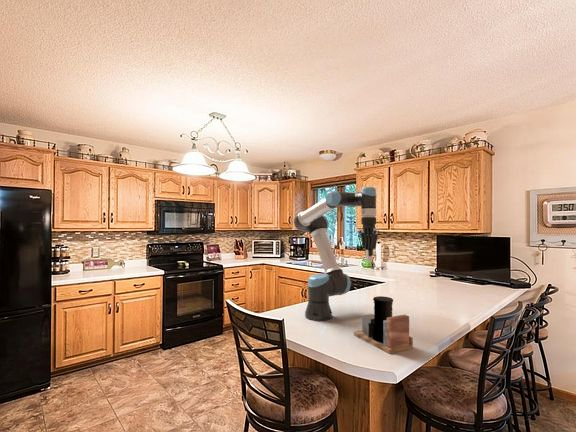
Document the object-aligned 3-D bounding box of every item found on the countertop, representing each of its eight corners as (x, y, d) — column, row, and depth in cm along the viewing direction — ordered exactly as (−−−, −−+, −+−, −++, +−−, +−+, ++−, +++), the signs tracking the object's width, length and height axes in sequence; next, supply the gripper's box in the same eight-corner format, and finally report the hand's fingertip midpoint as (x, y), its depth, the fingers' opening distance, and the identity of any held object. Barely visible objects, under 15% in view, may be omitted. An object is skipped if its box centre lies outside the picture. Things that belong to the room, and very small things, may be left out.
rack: (353, 335, 145) (353, 306, 145) (375, 331, 151) (375, 303, 151) (389, 353, 124) (389, 320, 125) (412, 348, 130) (412, 316, 130)
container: (389, 335, 141) (389, 295, 141) (397, 343, 132) (396, 300, 132) (370, 335, 140) (370, 295, 141) (376, 343, 131) (376, 300, 132)
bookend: (358, 332, 144) (358, 316, 144) (375, 329, 148) (375, 313, 149) (368, 337, 138) (368, 320, 138) (385, 333, 142) (385, 317, 143)
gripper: (355, 217, 165) (355, 261, 164) (371, 216, 153) (371, 264, 153) (366, 217, 168) (366, 260, 168) (383, 216, 156) (383, 263, 156)
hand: (369, 262), depth 160 cm, fingers closed
